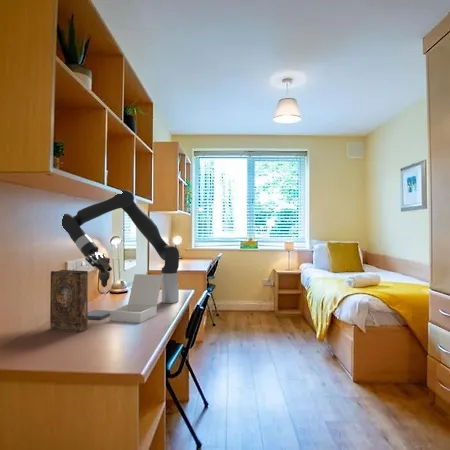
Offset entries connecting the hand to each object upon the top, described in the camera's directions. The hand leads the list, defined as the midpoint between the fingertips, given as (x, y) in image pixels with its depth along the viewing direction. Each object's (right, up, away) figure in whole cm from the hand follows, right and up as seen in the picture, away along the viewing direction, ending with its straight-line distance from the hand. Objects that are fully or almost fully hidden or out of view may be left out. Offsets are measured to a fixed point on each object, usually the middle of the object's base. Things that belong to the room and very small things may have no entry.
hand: (107, 270), depth 178 cm
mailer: (+15, -23, +1) cm, 27 cm away
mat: (-5, -23, +1) cm, 23 cm away
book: (-9, -22, -22) cm, 33 cm away
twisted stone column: (-2, -8, 0) cm, 8 cm away
